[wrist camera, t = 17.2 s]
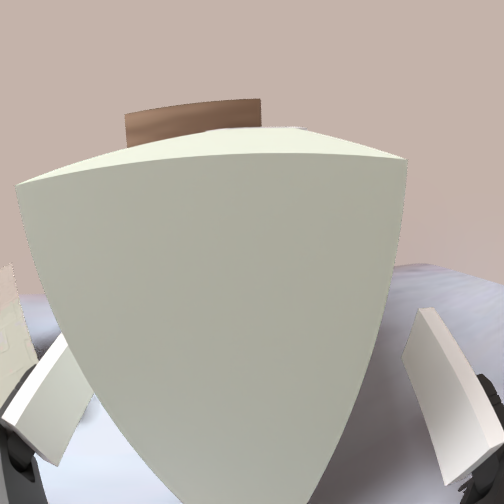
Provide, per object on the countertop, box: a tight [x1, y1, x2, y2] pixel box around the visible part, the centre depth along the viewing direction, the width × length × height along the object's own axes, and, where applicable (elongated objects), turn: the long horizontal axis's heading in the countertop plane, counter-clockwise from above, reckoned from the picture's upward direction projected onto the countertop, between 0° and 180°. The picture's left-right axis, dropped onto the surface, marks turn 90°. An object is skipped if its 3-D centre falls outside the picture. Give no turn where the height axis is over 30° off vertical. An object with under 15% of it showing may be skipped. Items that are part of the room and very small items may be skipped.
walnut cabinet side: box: [125, 99, 262, 148], centre depth 21 cm, size 6×11×20 cm, turn 86°
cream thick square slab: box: [15, 127, 408, 504], centre depth 13 cm, size 17×5×18 cm, turn 176°
